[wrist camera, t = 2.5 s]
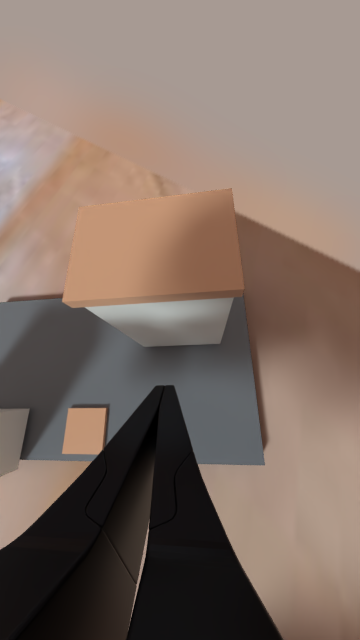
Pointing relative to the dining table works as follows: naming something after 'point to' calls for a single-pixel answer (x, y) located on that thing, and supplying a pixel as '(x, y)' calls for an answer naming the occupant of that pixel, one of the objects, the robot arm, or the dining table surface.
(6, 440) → the grey rectangular block
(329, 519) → the dining table surface
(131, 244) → the white box tan lid
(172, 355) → the grey flat board
